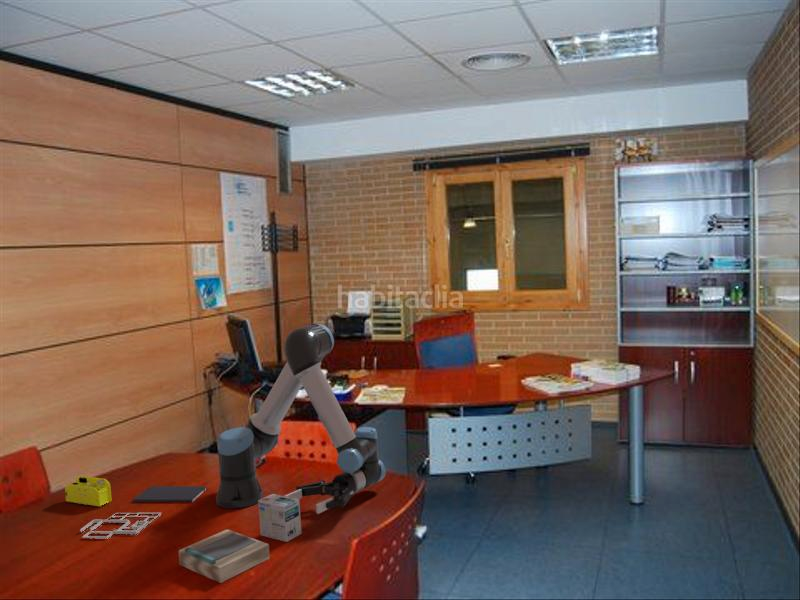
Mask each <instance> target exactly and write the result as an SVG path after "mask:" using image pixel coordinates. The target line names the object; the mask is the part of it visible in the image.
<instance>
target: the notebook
mask: <svg viewBox="0 0 800 600" xmlns="http://www.w3.org/2000/svg"><path fill="white" fill-rule="evenodd" d="M206 490H207V486H205V485H198V486H197V485H183V486H182V485H181V486H180V485H177V486H176V485H169V486H168V485H153V486H150V487H148V488H146V489H145V490H144V491H142V492H141V493H140V494H138V495H136V497H134V498H133V499H132V503H140V502H188V503H189V502H192V503H193V502H194V501H196V499H197V498H199V497H200V495H202V494H203V493H204V492H206ZM189 504H190V503H189Z"/></svg>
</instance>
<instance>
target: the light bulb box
mask: <svg viewBox="0 0 800 600" xmlns="http://www.w3.org/2000/svg"><path fill="white" fill-rule="evenodd" d="M257 504H258V515H259V531H260V536H262V537H266V538H269V539H273V540H278V541H282V542H285V543H288V542H289V541H291V540H293V539H295V538H297V537H298V536H300V535H302V521H301V508H300V507H301V506H300V499H297V498H291V497H286V496H285V495H281V494H276V493H272V494H270V495H267V496H264V497H263V498H262V499H260V500H258V503H257Z"/></svg>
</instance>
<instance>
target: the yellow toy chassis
mask: <svg viewBox="0 0 800 600" xmlns="http://www.w3.org/2000/svg"><path fill="white" fill-rule="evenodd" d="M111 489H112V487H111V483H110V482H109V481H108V480H107V478H100V477H94V476H93V477H92V476H85V475H78V476H77V478H76V479H75V482H73V483H68V484H67V485H65V486H64V494H65V501H66V502H67V503H75V504H79V505H81V504H82V505H85V506H87V505H89V506H95V507H102V505H103V506H105V505H107V504H108V503H110V502H113V501H112V490H111ZM106 503H107V504H106ZM104 504H105V505H104Z"/></svg>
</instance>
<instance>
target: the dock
mask: <svg viewBox="0 0 800 600" xmlns="http://www.w3.org/2000/svg"><path fill="white" fill-rule="evenodd" d="M270 558H271V557H270V544H269V543H266V542H264V541H261V540H259V539H256V538H253V537H251V536H248V535H245V534H241V533H239V532H236V531H233V530H231V529H225V530H223V531H220V532H218V533H216V534H213V535H211V536H208V537H206V538H204V539H202V540H199V541H197V542H195V543H193V544H191V545H188V546H186V547H183V548H181V549H179V550H178V561H179V566H182V567H184V568H186V569H188V570H190V571H192V572H194V573H195V572H196V573H197V574H199V575H202V576H203V577H206V578H208V579H211V580H213V581H215V582H218V583H220V584H222V583H224V582H226V581H228V580H229V579H232V578H234V577H236V576H237V575H239V574H242V573H244V572H246V571H247V570H249V569H251V568H253V567H256V566H258V565H259V564H262V563H264V562H265V561H267V560H270Z"/></svg>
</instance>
